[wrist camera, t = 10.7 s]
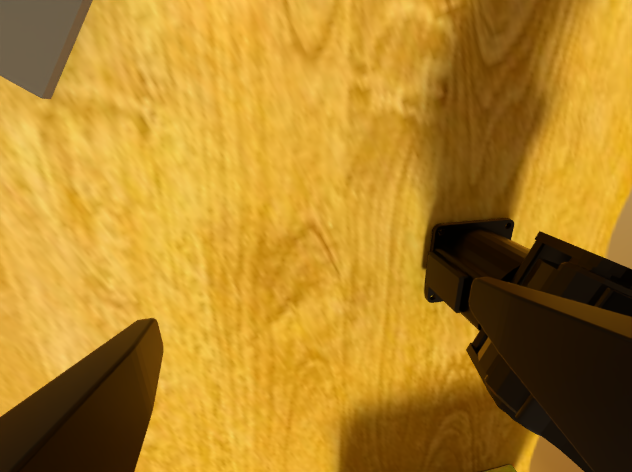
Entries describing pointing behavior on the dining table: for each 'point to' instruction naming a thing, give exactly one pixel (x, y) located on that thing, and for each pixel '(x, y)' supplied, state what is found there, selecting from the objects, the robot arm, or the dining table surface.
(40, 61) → the coaster
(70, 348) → the dining table surface
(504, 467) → the snack box
